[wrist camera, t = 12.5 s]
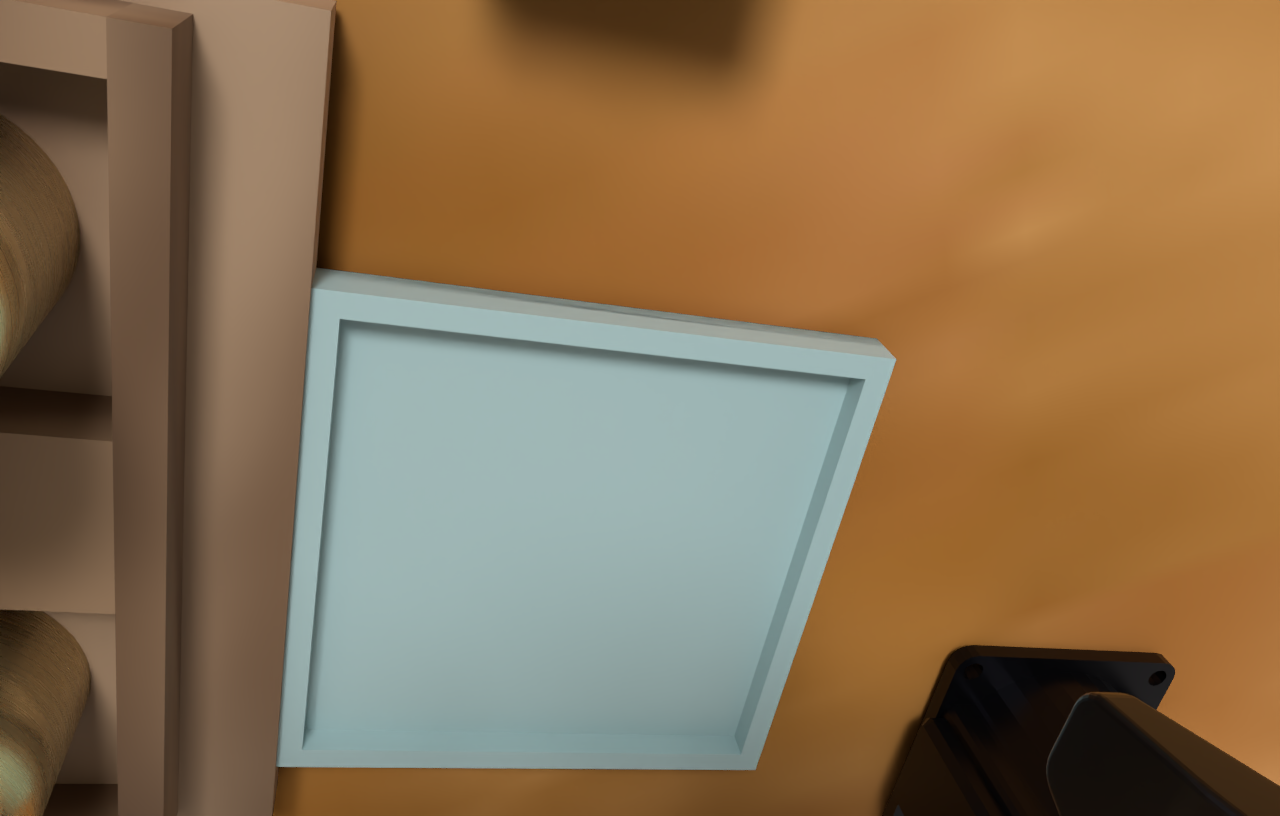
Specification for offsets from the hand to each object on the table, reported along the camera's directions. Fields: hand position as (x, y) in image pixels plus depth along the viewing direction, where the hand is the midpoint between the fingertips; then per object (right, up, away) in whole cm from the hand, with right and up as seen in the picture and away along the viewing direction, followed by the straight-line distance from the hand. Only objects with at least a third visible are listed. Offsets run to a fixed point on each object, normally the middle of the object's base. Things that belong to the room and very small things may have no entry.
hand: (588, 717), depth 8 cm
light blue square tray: (-1, 0, +14) cm, 14 cm away
